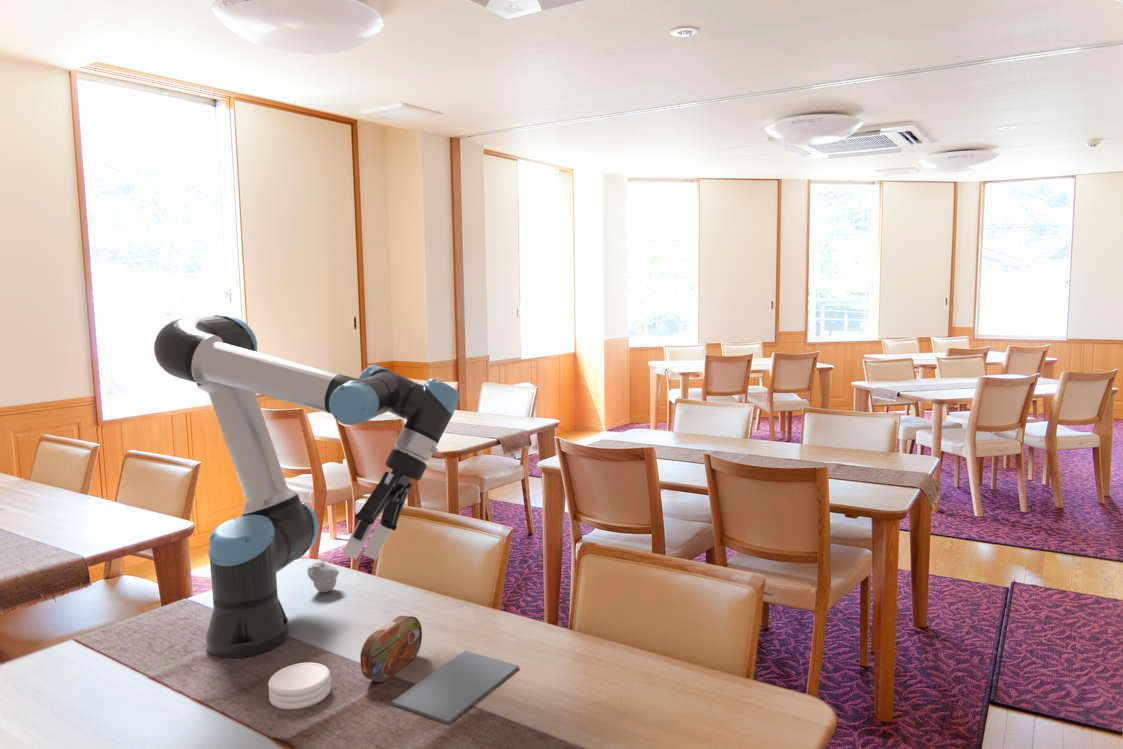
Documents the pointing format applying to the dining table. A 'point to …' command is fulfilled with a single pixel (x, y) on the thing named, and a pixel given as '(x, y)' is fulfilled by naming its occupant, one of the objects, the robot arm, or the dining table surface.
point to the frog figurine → (323, 576)
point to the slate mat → (455, 686)
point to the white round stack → (299, 685)
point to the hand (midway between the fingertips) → (359, 556)
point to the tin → (391, 648)
